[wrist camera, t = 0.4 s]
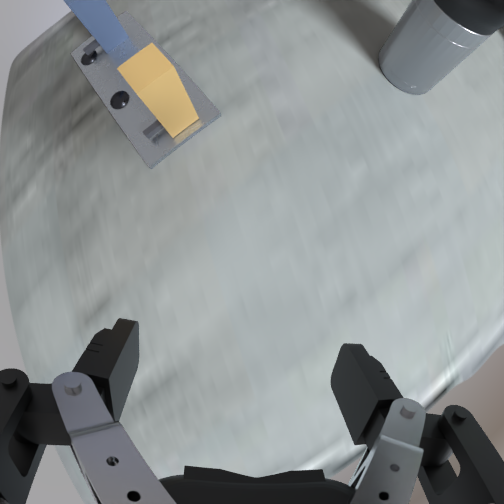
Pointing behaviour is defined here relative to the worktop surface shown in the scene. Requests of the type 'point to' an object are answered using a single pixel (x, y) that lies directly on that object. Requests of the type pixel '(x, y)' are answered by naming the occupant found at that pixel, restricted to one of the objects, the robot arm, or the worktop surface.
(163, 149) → the bolt plate
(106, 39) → the fixed leg
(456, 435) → the robot arm
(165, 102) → the block
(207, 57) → the worktop surface
